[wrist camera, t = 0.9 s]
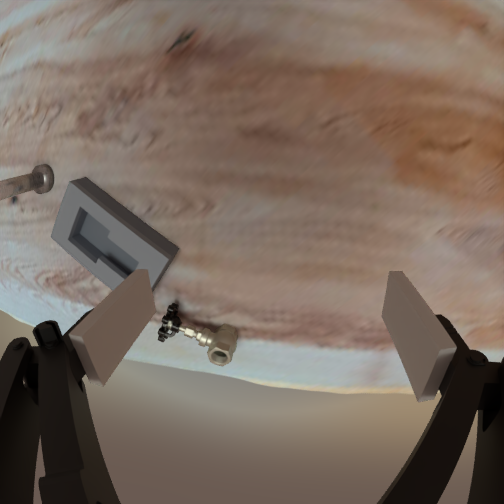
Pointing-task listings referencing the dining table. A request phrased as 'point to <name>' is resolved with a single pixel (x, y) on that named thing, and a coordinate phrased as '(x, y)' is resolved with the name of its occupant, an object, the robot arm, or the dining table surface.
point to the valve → (202, 336)
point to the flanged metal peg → (28, 182)
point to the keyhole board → (101, 233)
